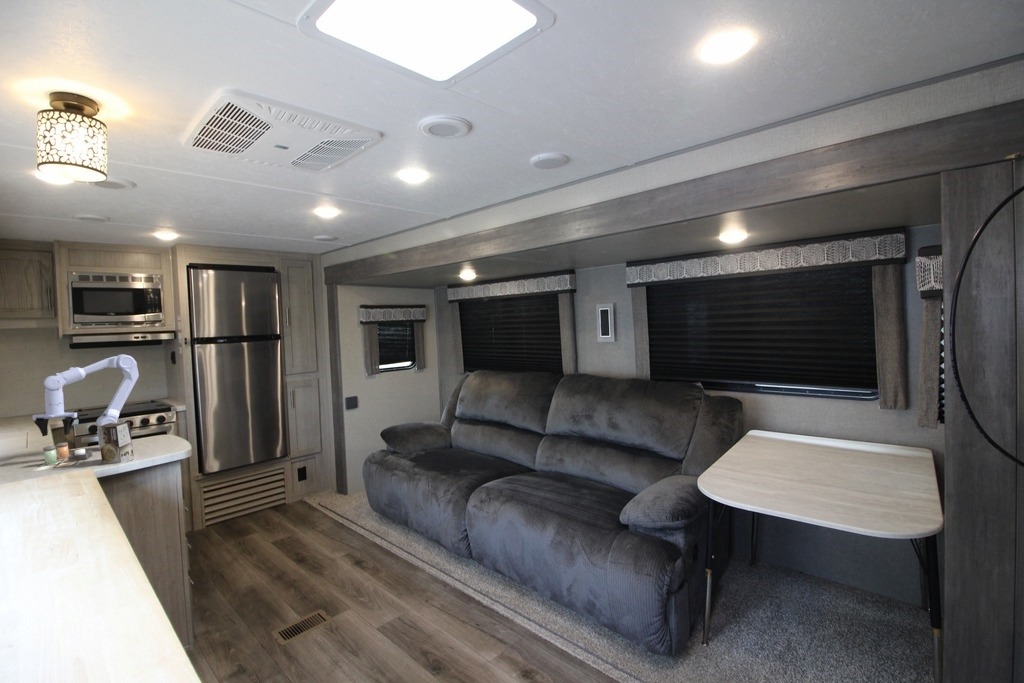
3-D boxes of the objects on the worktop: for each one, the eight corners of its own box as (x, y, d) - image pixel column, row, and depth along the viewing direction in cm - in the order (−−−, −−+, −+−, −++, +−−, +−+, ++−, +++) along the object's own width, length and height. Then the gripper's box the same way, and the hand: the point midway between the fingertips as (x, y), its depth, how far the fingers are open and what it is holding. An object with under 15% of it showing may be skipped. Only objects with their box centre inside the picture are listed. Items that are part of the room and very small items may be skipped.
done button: (87, 454, 206) (86, 448, 206) (83, 457, 203) (83, 450, 203) (77, 456, 205) (76, 449, 205) (73, 458, 202) (72, 451, 202)
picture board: (92, 457, 208) (91, 450, 208) (79, 466, 196) (78, 459, 196) (45, 463, 202) (44, 456, 202) (28, 473, 190) (27, 466, 190)
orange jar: (71, 457, 209) (69, 441, 209) (67, 459, 206) (65, 444, 205) (60, 458, 208) (58, 443, 207) (56, 461, 205) (54, 445, 204)
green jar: (59, 461, 202) (57, 445, 201) (55, 463, 199) (52, 447, 198) (47, 462, 200) (45, 446, 200) (43, 465, 197) (41, 449, 196)
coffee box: (135, 458, 204) (130, 421, 202) (121, 464, 197) (116, 426, 196) (115, 459, 204) (110, 422, 203) (101, 464, 198) (96, 426, 197)
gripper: (27, 406, 199) (28, 438, 199) (69, 404, 203) (71, 436, 204) (38, 403, 205) (39, 434, 206) (79, 401, 210) (80, 432, 210)
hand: (56, 435), depth 205 cm, fingers open, 7 cm apart
